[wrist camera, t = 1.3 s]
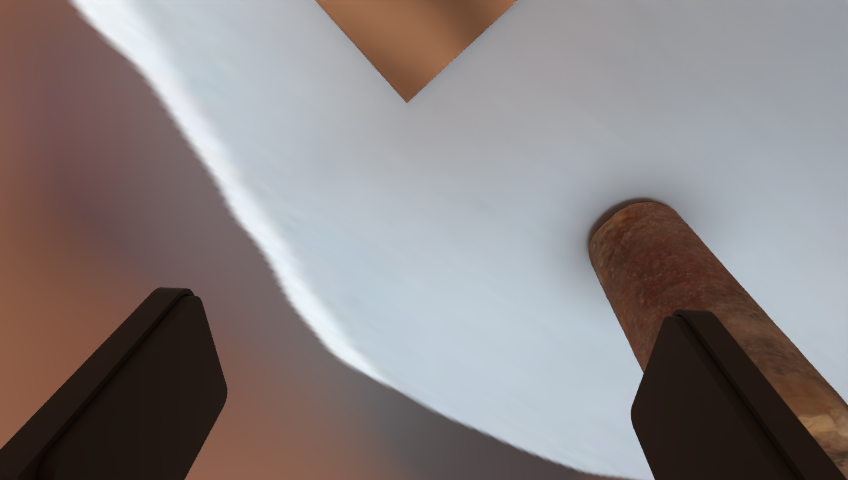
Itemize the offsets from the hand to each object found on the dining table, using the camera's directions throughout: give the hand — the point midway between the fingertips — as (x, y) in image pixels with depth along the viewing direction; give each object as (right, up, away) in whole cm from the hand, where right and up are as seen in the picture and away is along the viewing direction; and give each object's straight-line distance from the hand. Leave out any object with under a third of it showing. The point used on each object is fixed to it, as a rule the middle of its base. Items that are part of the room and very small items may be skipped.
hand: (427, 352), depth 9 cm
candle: (+17, +2, +27) cm, 32 cm away
